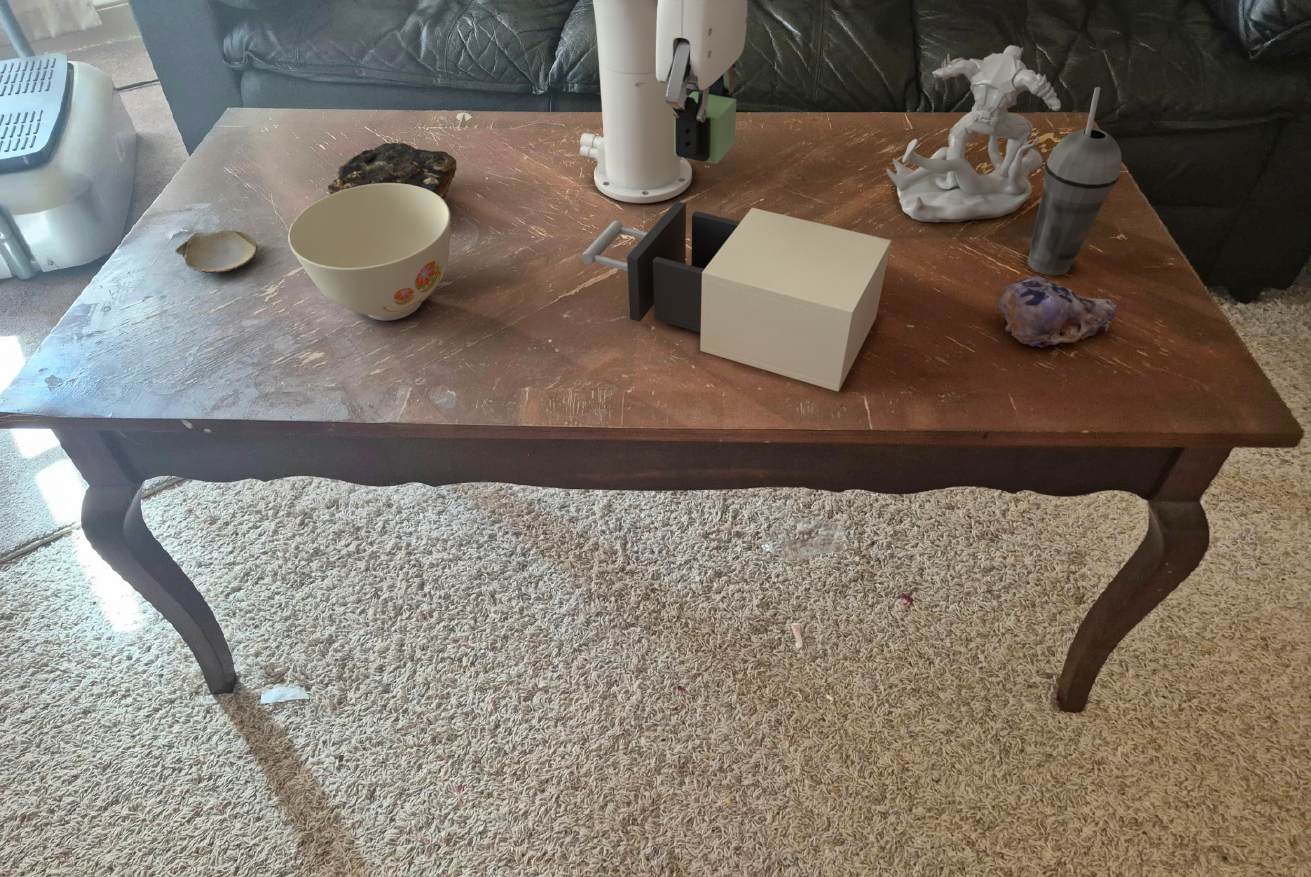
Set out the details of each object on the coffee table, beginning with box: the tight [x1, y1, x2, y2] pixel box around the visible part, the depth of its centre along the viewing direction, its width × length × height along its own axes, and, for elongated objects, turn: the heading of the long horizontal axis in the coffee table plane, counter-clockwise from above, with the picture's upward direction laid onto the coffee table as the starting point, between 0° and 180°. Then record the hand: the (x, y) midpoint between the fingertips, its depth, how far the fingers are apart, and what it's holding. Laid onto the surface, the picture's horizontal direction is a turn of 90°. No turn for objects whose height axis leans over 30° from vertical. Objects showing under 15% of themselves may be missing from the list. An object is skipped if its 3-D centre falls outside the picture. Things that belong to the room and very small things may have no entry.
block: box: [674, 91, 737, 164], centre depth 82 cm, size 4×4×4 cm
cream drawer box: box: [699, 207, 892, 393], centre depth 87 cm, size 15×13×10 cm
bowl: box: [287, 183, 451, 322], centre depth 92 cm, size 16×16×10 cm
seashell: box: [175, 230, 258, 274], centre depth 101 cm, size 8×3×8 cm
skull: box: [994, 276, 1118, 348], centre depth 88 cm, size 12×8×6 cm, turn 85°
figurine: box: [885, 44, 1062, 223], centre depth 102 cm, size 18×13×18 cm
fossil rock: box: [327, 141, 457, 201], centre depth 108 cm, size 14×14×6 cm
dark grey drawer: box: [580, 200, 741, 334], centre depth 91 cm, size 20×11×8 cm, turn 64°
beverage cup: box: [1027, 86, 1122, 276], centre depth 91 cm, size 7×7×20 cm
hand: (703, 143), depth 83 cm, fingers closed on block, 4 cm apart
